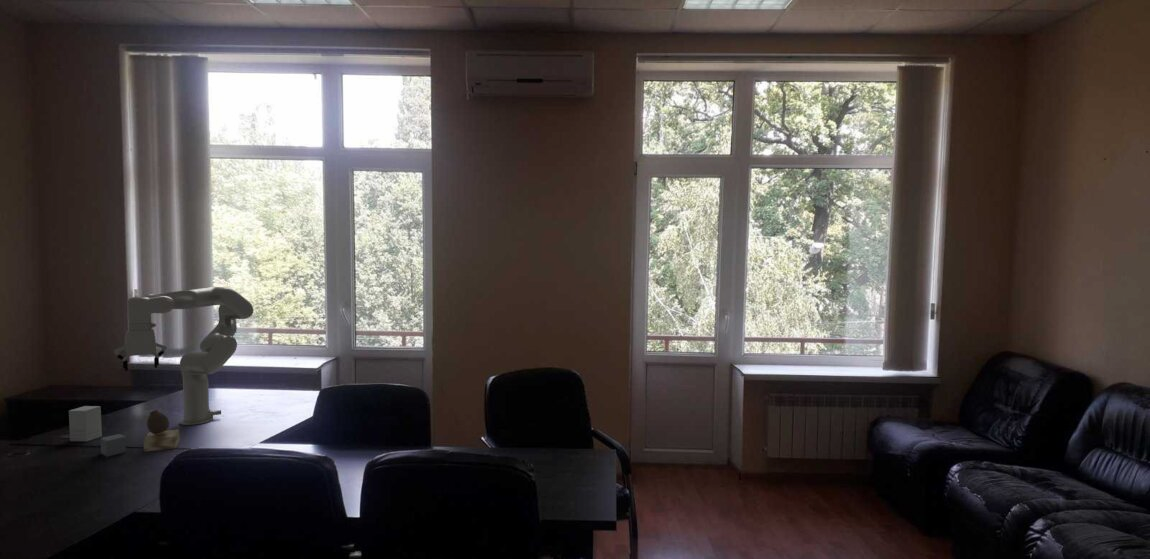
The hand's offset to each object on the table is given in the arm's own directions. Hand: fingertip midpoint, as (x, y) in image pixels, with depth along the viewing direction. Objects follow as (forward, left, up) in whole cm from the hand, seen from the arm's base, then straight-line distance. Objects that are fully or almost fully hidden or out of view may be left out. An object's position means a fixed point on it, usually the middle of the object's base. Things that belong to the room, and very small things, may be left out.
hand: (141, 368), depth 236 cm
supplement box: (+18, -12, -29) cm, 36 cm away
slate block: (+10, +16, -28) cm, 34 cm away
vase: (-5, +18, -23) cm, 30 cm away
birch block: (-5, +18, -29) cm, 34 cm away
